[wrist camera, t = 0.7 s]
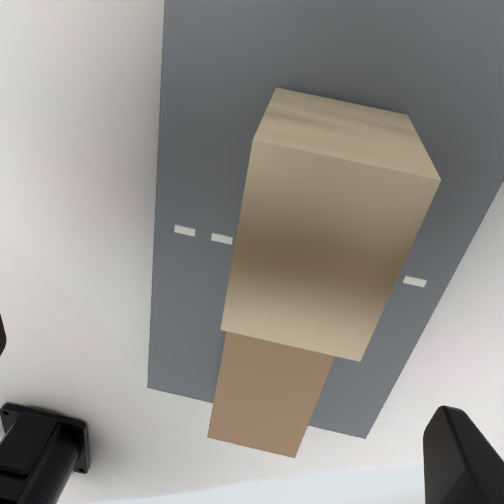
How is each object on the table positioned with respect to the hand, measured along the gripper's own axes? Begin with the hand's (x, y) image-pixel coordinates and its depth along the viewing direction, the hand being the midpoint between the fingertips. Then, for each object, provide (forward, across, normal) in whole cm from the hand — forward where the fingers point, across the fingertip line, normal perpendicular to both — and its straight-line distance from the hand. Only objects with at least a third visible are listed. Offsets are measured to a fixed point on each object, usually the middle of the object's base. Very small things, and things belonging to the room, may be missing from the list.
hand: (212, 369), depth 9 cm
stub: (+11, -2, +1) cm, 11 cm away
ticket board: (+12, -2, +5) cm, 13 cm away
